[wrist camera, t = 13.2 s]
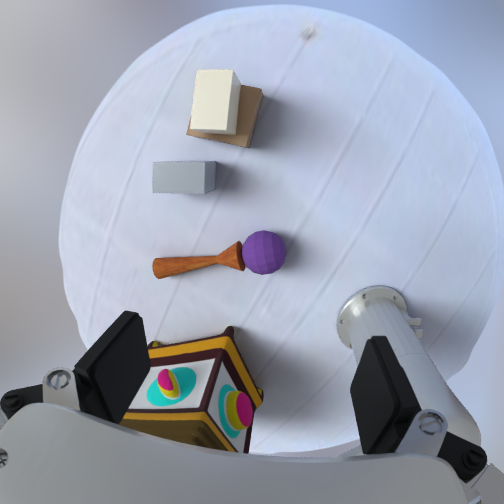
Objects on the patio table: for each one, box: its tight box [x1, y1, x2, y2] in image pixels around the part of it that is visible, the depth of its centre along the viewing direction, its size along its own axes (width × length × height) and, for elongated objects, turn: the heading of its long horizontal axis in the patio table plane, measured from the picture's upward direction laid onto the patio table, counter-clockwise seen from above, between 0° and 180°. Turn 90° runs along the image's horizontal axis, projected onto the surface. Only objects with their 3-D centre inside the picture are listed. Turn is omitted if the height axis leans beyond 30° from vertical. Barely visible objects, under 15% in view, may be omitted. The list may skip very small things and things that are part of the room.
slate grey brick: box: [153, 161, 216, 194], centre depth 36 cm, size 7×4×6 cm, turn 87°
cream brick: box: [190, 70, 241, 135], centre depth 29 cm, size 7×4×6 cm, turn 174°
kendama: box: [152, 230, 286, 279], centre depth 40 cm, size 6×6×20 cm
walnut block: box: [186, 85, 263, 148], centre depth 34 cm, size 8×8×4 cm
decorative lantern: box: [118, 326, 264, 454], centre depth 36 cm, size 20×20×30 cm
